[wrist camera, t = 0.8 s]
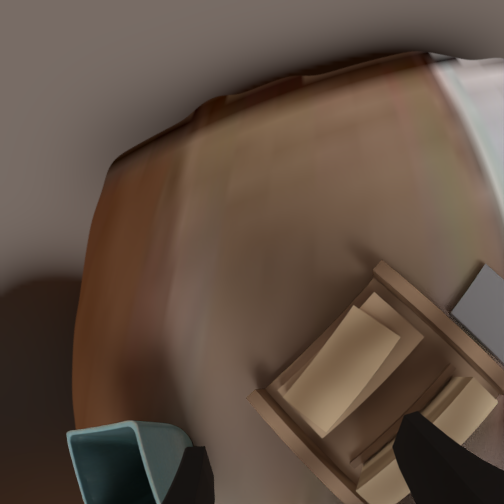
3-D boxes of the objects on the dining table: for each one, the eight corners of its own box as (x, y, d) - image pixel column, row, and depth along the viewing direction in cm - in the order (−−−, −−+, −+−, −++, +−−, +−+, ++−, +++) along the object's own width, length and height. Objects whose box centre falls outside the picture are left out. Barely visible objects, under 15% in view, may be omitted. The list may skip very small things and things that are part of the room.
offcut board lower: (422, 338, 21) (424, 336, 20) (325, 435, 21) (322, 438, 20) (374, 295, 23) (374, 291, 22) (282, 389, 23) (277, 390, 22)
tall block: (472, 396, 17) (498, 402, 12) (383, 483, 18) (381, 514, 12) (452, 376, 19) (473, 377, 14) (363, 464, 19) (355, 491, 14)
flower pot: (202, 412, 26) (133, 418, 18) (231, 500, 22) (171, 535, 14) (133, 428, 28) (64, 431, 20) (157, 505, 24) (92, 526, 16)
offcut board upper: (399, 338, 20) (400, 337, 19) (329, 429, 20) (326, 432, 19) (355, 308, 22) (353, 305, 21) (287, 396, 22) (282, 397, 21)
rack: (503, 383, 17) (516, 383, 15) (372, 512, 17) (370, 527, 15) (382, 271, 25) (381, 259, 22) (260, 396, 25) (245, 398, 22)
